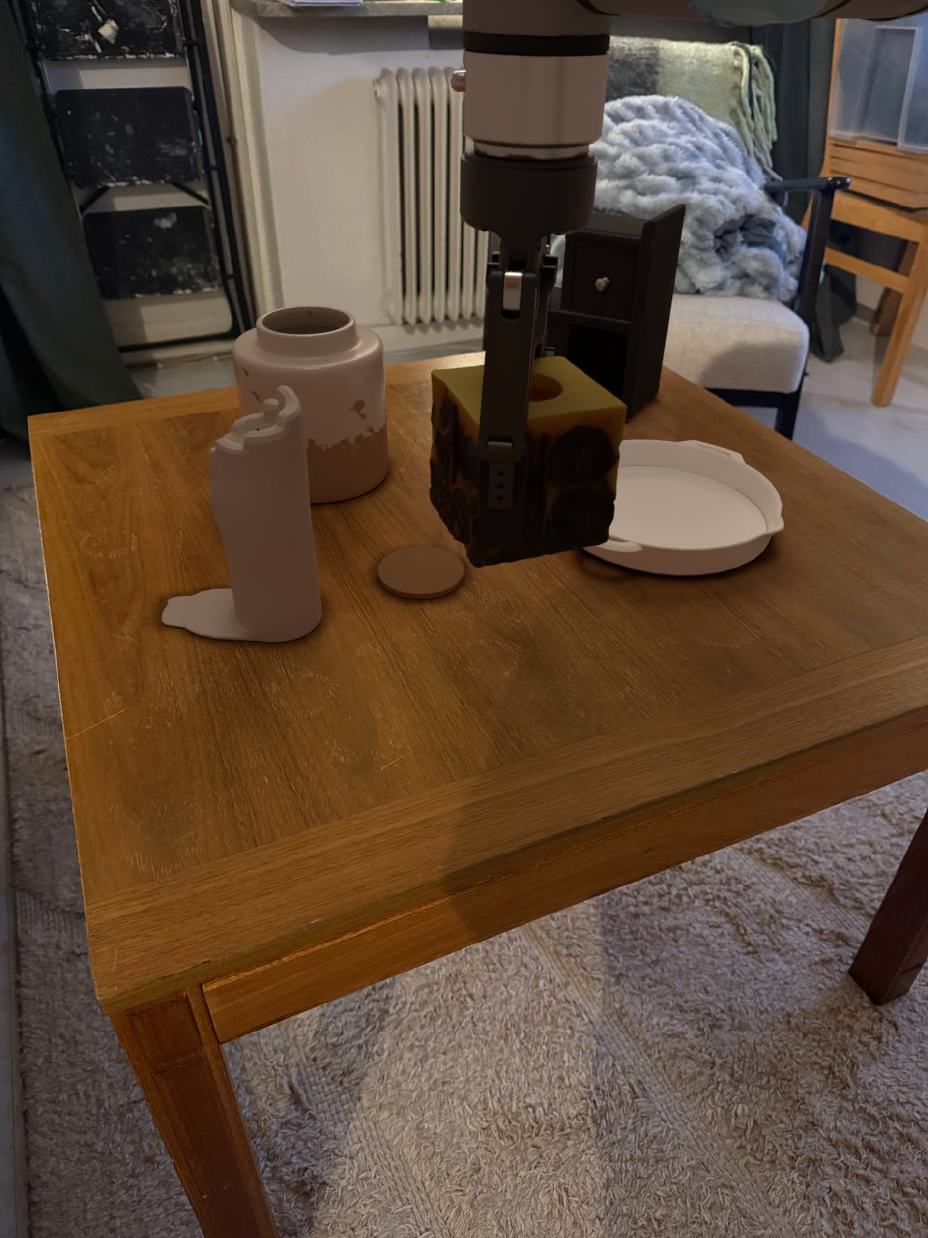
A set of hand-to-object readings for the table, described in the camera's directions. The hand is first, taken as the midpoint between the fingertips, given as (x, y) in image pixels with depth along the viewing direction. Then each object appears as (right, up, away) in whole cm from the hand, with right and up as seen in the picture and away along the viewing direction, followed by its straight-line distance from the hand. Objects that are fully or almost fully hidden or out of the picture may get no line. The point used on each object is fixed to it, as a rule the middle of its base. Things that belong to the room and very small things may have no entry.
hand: (510, 495), depth 59 cm
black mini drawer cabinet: (+10, +22, +56) cm, 61 cm away
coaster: (-7, -4, +20) cm, 22 cm away
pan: (+17, +1, +29) cm, 34 cm away
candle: (0, -2, +2) cm, 3 cm away
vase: (-19, +8, +36) cm, 42 cm away
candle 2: (-22, -8, +15) cm, 28 cm away
